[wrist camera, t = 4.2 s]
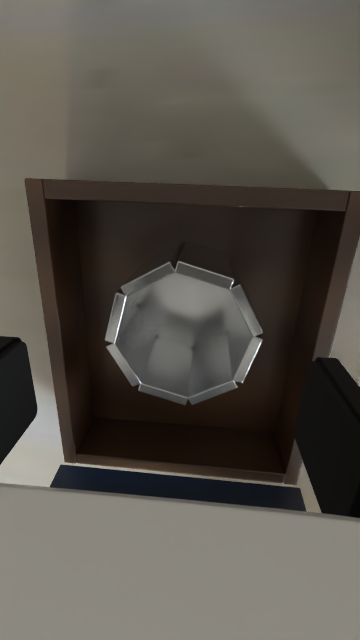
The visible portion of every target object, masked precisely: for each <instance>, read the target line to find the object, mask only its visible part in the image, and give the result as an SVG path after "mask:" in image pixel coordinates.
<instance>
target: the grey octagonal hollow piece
mask: <svg viewBox="0 0 360 640" xmlns="http://www.w3.org/2000/svg"><path fill="white" fill-rule="evenodd" d="M261 333H263V330H262V328H261V325H260V323H259V320H258V317H257V315H256V312H255V310H254V307H253V304H252V302H251V299H250V297H249V294H248V292H247V290H246V288H245V285H244V283H243V281H242V279H241V277H240V275H239V273H238V270H237V268H236V266H235V264H234V262H233V260H232V258H229V259H228V256H227V254H226V253H224V252H221V251H217V250H214V249H211V248H208V247H205V246H202V245H199V244H196V243H193V242H190V241H186V243H185V245H184V246H183V244H182V242H181V241H180V242H178V243H176V244H174V245H172V246H170V247H168V248H167V249H165V250H163V251H161V252H159V253H157V254H155V255H153V256H151V257H150V258H148V259H146V260H145V261H144V262H143V263H142V264H141V265H140V266H139V267H138V268H137V269H136V270H135V272H134V273H133V274H132V275H131V276H130V277H129V278H128V279H127V280H126V281H125V283H124V284H123V285H122V286H121V288H120V289H119V290H118V291H117V292H116V294H115V298H114V302H113V306H112V311H111V315H110V319H109V323H108V328H107V332H106V336H105V341H108V342H109V343H108V345H107V346H106V348H107V349H108V351H109V352H110V354H111V355H112V357H113V358H114V360H115V361H116V363H117V364H118V366H119V367H120V369H121V370H122V372H123V373H124V375H125V376H126V378H127V379H128V381H129V382H130V384H131V385H132V386H133V387H134V386H136V385H138V384H140V385H139V388H138V391H140V392H144V393H147V394H150V395H153V396H157V397H160V398H163V399H166V400H170V401H173V402H176V403H179V404H183V405H185V404H186V402H187V400H188V399H189V401H190V403H191V404H192V405H193V404H196V403H199V402H201V401H204V400H207V399H209V398H212V397H215V396H217V395H220V394H223V393H225V392H228V391H231V390H233V389H236V388H237V382H239V383H243V381H244V379H245V377H246V375H247V373H248V371H249V369H250V366H251V364H252V362H253V360H254V358H255V356H256V354H257V352H258V349H259V347H260V345H261V343H262V341H263V338H262V336H261Z"/></svg>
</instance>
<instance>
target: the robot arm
mask: <svg viewBox="0 0 360 640" xmlns="http://www.w3.org/2000/svg"><path fill="white" fill-rule="evenodd" d="M36 414H37V403H36V397H35V391H34V385H33V380H32V374H31V368H30V363H29V357H28V351H27V346H26V344H25V343H24V342H22V341H21V339H20V338H18V337H4V336H0V464H1V463H2V462H3V460H4V459H5V458H6V456H7V455H8V454H9V452H10V451H11V450H12V448H13V447H14V446H15V444H16V443H17V441H18V440H19V439H20V437H21V436H22V435H23V433H24V432H25V431H26V429H27V428H28V427H29V425H30V424H31V423H32V421H33V420H34V418H35V417H36ZM294 437H295V441H296V443H297V446H298V449H299V452H300V454H301V457H302V460H303V463H304V465H305V468H306V471H307V474H308V476H309V479H310V482H311V485H312V487H313V490H314V493H315V496H316V498H317V501H318V504H319V507H320V509H321V512H322V513H314V512H304V511H295V510H286V509H277V508H266V507H256V506H246V505H235V504H225V503H215V502H205V501H194V500H184V499H173V498H163V497H152V496H141V495H130V494H119V493H108V492H97V491H86V490H75V489H63V488H52V487H40V486H29V485H17V484H5V483H0V640H360V387H359V386H358V385H357V383H356V382H355V381H354V380H353V378H352V377H351V376H350V374H349V373H348V372H347V371H346V369H345V368H344V367H343V365H342V364H341V363H340V362H339V360H338V359H336V358H323V357H317V358H316V359H315V361H310V363H309V365H308V369H307V373H306V377H305V382H304V386H303V391H302V395H301V399H300V404H299V408H298V413H297V417H296V422H295V426H294Z"/></svg>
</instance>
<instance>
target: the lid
mask: <svg viewBox="0 0 360 640" xmlns="http://www.w3.org/2000/svg"><path fill="white" fill-rule="evenodd" d="M50 487H52V488H63V489H75V490H86V491H97V492H108V493H119V494H130V495H141V496H152V497H163V498H173V499H184V500H194V501H205V502H215V503H225V504H235V505H246V506H256V507H266V508H277V509H286V510H295V511H304V512H306V508H305V504H304V501H303V497H302V493H301V490H300V488H293V487H283V486H273V485H263V484H253V483H243V482H232V481H222V480H212V479H202V478H192V477H182V476H172V475H161V474H151V473H141V472H131V471H121V470H111V469H100V468H90V467H80V466H70V465H60V467H59V469H58V471H57V473H56V475H55V477H54V479H53V481H52V483H51V485H50Z"/></svg>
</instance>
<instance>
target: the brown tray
mask: <svg viewBox="0 0 360 640" xmlns="http://www.w3.org/2000/svg"><path fill="white" fill-rule="evenodd" d="M25 186H26V193H27V200H28V207H29V214H30V221H31V228H32V235H33V242H34V249H35V256H36V263H37V270H38V277H39V284H40V291H41V298H42V305H43V312H44V319H45V326H46V333H47V341H48V348H49V355H50V362H51V369H52V376H53V383H54V390H55V397H56V404H57V411H58V418H59V425H60V432H61V439H62V446H63V453H64V460H65V462H67V463H80V464H90V465H100V466H110V467H121V468H131V469H141V470H151V471H162V472H172V473H182V474H192V475H202V476H213V477H223V478H233V479H243V480H254V481H264V482H274V483H283V482H284V484H292V485H297V482H298V478H299V474H300V470H301V466H302V462H303V460H302V457H301V454H300V452H299V449H298V446H297V443H296V441H295V437H294V426H295V422H296V417H297V413H298V408H299V404H300V399H301V395H302V391H303V386H304V382H305V377H306V373H307V369H308V365H309V363H310V361H315V359H316V358H317V357H323V358H329V355H330V351H331V347H332V343H333V339H334V335H335V331H336V327H337V323H338V319H339V315H340V311H341V307H342V303H343V299H344V295H345V292H346V288H347V284H348V280H349V276H350V272H351V268H352V264H353V260H354V256H355V252H356V248H357V244H358V240H359V236H360V191H342V190H316V189H291V188H265V187H239V186H213V185H187V184H161V183H135V182H109V181H84V180H58V179H32V178H25ZM180 241H181V242H182V244H183V246H184V245H185V243H186V241H190V242H193V243H196V244H199V245H202V246H205V247H208V248H211V249H214V250H217V251H221V252H224V253H226V254H227V256H228V259H229V258H232V260H233V262H234V264H235V266H236V268H237V270H238V273H239V275H240V277H241V279H242V281H243V283H244V285H245V288H246V290H247V292H248V294H249V297H250V299H251V302H252V304H253V307H254V310H255V312H256V315H257V317H258V320H259V323H260V325H261V328H262V330H263V333H261V336H262V338H263V341H262V343H261V345H260V347H259V349H258V352H257V354H256V356H255V358H254V360H253V362H252V364H251V366H250V369H249V371H248V373H247V375H246V377H245V379H244V381H243V383H239V382H237V388H236V389H233V390H231V391H228V392H225V393H223V394H220V395H217V396H215V397H212V398H209V399H207V400H204V401H201V402H199V403H196V404H193V405H192V404H191V403H190V401H189V399H188V400H187V402H186V404H185V405H183V404H179V403H176V402H173V401H170V400H166V399H163V398H160V397H157V396H153V395H150V394H147V393H144V392H140V391H138V388H139V385H140V384H138V385H136V386H134V387H133V386H132V385H131V384H130V382H129V381H128V379H127V378H126V376H125V375H124V373H123V372H122V370H121V369H120V367H119V366H118V364H117V363H116V361H115V360H114V358H113V357H112V355H111V354H110V352H109V351H108V349H107V348H106V346H107V345H108V343H109V342H108V341H105V336H106V332H107V328H108V323H109V319H110V315H111V311H112V306H113V302H114V298H115V294H116V292H117V291H118V290H119V289H120V288H121V286H122V285H123V284H124V283H125V281H126V280H127V279H128V278H129V277H130V276H131V275H132V274H133V273H134V272H135V270H136V269H137V268H138V267H139V266H140V265H141V264H142V263H143V262H144V261H145V260H146V259H148V258H150V257H151V256H153V255H155V254H157V253H159V252H161V251H163V250H165V249H167V248H168V247H170V246H172V245H174V244H176V243H178V242H180Z"/></svg>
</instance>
